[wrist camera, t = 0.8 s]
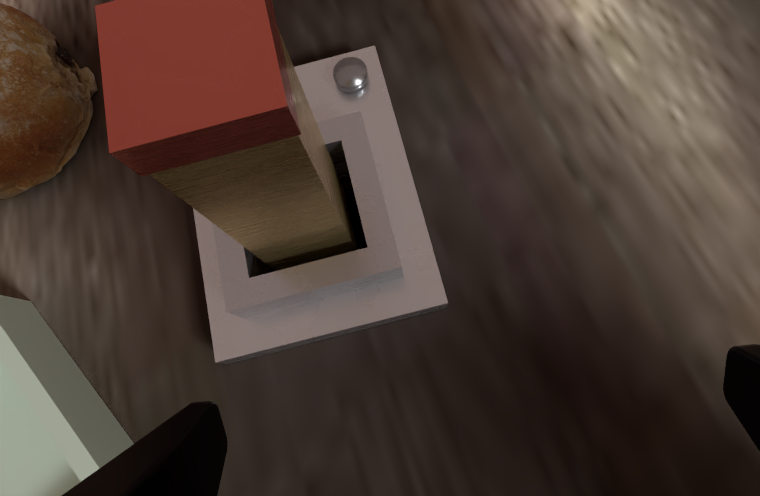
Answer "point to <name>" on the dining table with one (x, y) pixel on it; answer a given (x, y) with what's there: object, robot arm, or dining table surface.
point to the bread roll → (38, 103)
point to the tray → (47, 410)
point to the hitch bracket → (341, 272)
